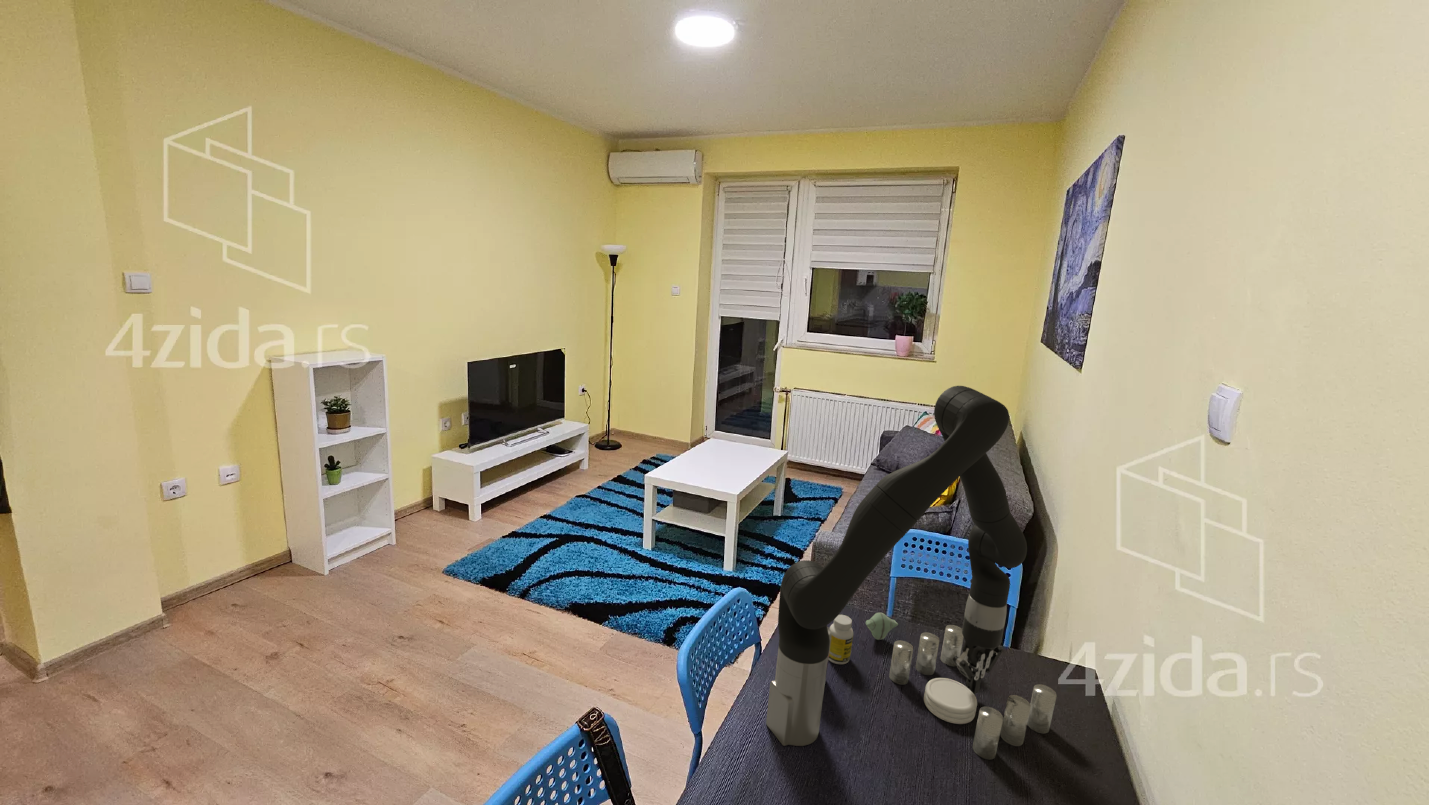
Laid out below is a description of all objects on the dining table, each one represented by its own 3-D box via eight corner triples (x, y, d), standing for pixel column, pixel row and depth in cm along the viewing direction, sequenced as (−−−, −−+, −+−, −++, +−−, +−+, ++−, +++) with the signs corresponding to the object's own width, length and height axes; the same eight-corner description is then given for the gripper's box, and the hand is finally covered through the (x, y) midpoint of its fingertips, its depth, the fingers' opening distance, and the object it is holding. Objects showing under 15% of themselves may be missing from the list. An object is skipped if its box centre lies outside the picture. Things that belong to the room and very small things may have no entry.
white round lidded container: (979, 704, 124) (981, 690, 124) (969, 733, 116) (972, 717, 115) (930, 684, 130) (932, 670, 129) (917, 710, 121) (920, 695, 121)
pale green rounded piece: (865, 644, 142) (868, 619, 141) (859, 634, 146) (862, 609, 145) (896, 643, 143) (900, 618, 142) (889, 633, 147) (893, 609, 146)
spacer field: (985, 762, 109) (993, 724, 107) (885, 675, 132) (890, 642, 130) (1053, 730, 119) (1061, 695, 117) (948, 653, 141) (953, 623, 139)
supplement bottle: (844, 668, 133) (850, 629, 131) (822, 659, 136) (826, 620, 133) (853, 656, 137) (858, 618, 135) (830, 647, 140) (835, 609, 138)
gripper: (978, 636, 116) (965, 712, 119) (1021, 620, 122) (1008, 693, 126) (947, 615, 122) (935, 689, 126) (990, 601, 128) (978, 672, 132)
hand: (972, 691), depth 126 cm, fingers closed
